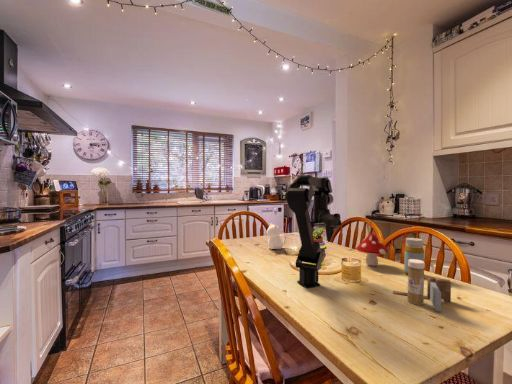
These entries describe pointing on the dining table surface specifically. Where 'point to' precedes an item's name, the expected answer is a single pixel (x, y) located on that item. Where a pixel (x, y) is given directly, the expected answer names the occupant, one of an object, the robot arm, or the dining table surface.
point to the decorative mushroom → (372, 249)
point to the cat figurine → (275, 237)
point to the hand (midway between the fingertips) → (320, 242)
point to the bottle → (413, 251)
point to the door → (435, 296)
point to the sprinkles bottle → (416, 281)
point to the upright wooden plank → (442, 285)
